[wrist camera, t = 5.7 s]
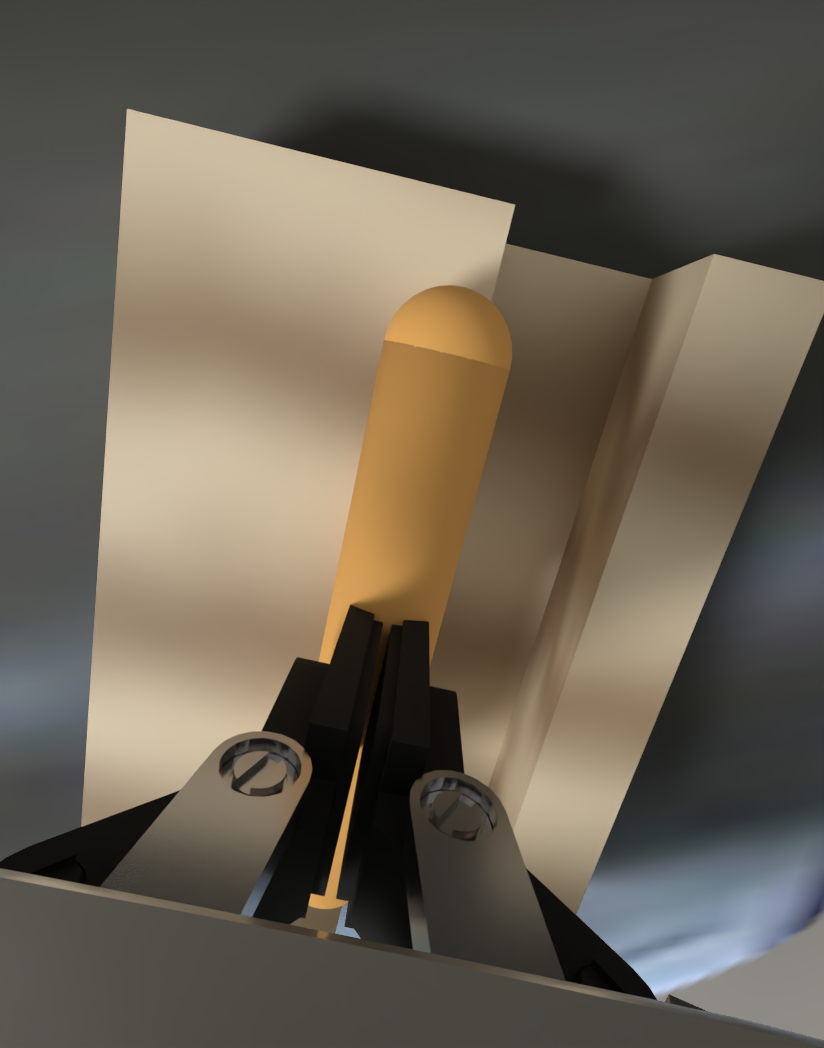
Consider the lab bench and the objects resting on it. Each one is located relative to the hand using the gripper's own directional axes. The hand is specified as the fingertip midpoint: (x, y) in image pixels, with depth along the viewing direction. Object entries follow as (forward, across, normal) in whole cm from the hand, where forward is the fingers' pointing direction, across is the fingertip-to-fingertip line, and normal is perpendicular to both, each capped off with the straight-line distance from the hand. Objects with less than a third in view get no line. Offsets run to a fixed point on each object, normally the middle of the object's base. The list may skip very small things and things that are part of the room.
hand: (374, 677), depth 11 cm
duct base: (+5, 0, 0) cm, 5 cm away
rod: (0, 0, 0) cm, 1 cm away
